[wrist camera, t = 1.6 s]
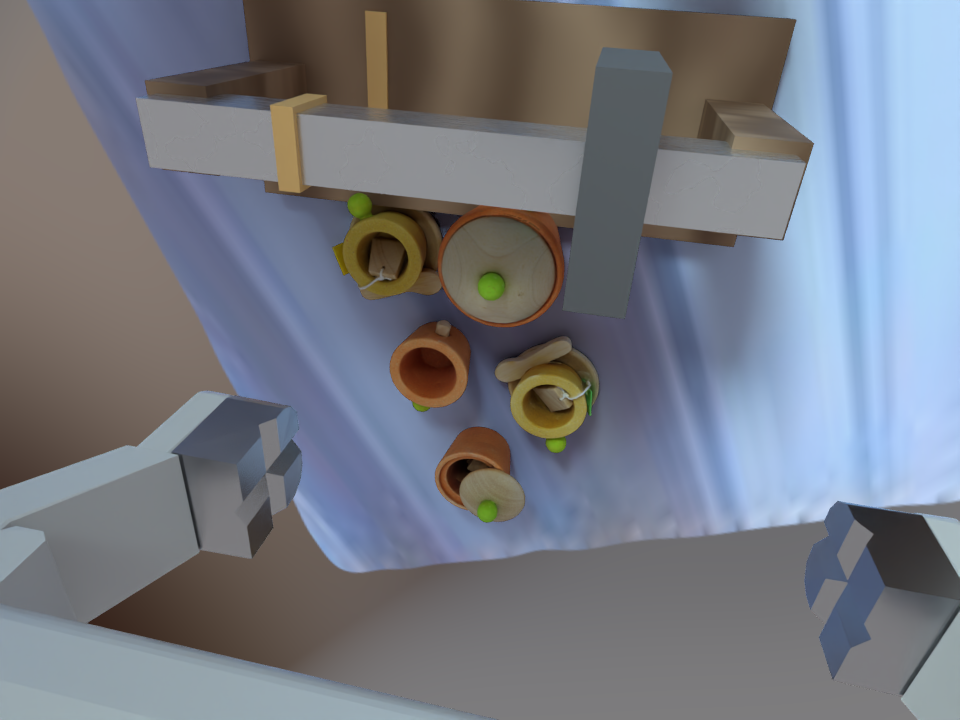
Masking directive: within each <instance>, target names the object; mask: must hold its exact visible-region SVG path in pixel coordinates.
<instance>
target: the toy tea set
mask: <svg viewBox="0 0 960 720" xmlns="http://www.w3.org/2000/svg"><path fill="white" fill-rule="evenodd" d="M347 204H348V209H349V212H350V213H351V214H352V215H353V216H354V217H353V219H352V222H351V224H350V229H349V231H348V233H347V235H346V237H345V239H344V242H343V243H341V244H338V245H336V246H334V247H332V249H333V251H334V253H335V256H336V259H337V261H338V263H339V266H340V269H341V271H342V273H343V275H344V276H345V275H346V274H348V273H350V275H351V276H352V278H353V279H354V280H355V281H356V282H357V283H358V288H359V289H360V292H361V294H362V296H363V297H364V298H365V299H369V300H375V299H381V298H385V297H389V296H393V295H398V294H401V293H404V292H416V293H419V294H423V295H433V294H435V293H437V292H438V291H439V290H440V289H441V288H442V287H443V289H444V291H445V293H446V295H447V296H448V298H449V299H450V301H451V302H452V303H453V304H454V305H455V306H456V307H457V308H458V309H459V310H460V311H461V312H462V313H464V314H465V315H466V316H468V317H469V318H471V319H473V320H475V321H477V322H480V323H482V324H485V325H489V326H494V327H514V326H519V325H523V324H526V323H529V322H531V321H533V320H535V319H537V318H538V317H539V316H541V315H542V314H543V313H545V312H546V311H547V310H548V309H549V307H550V306H551V305H552V304H553V302H554V301H555V299H556V298H557V296H558V294H559V292H560V290H561V287H562V283H563V279H564V258H563V252H562V248H561V243H560V237H559V232H558V227H557V226H556V224H555V222H554V220H553V219H552V217H551V216H550V215H549V213H546V212H537V211H529V210H520V209H511V208H502V207H494V206H485V205H479V206H478V207H476V208H474V209H473V210H471V211H469V212H468V213H466V214H465V215H463V216H462V217H460V218H459V219H458V220H457V221H456V222H455V223H454V224H453V225H452V226H451V227H450V229H449V230H448V231H447V233H446V235H445V237H444V238H443V240H442V235H441V231H440V229H439V226H438V225H437V223H436V221H435V219H434V218H433V217H432V215H431V214H430V213H429V212H428V211H422V210H413V209H405V208H396V207H388V206H379V205H372V202H371V200H370V199H369V197H368V196H367V195H365V194H363V193H357V194H354V195H352V196H351V197H350V198H349V200H348V203H347ZM437 268H438V272H436V270H437ZM470 355H471V351H470V345H469V343H468V340H467V339H466V337H465V336H464V335H463V333H462V332H461V331H459V330H458V329H457V328H456V327H454V326H452V325H450V323H449V322H448V321H446V320H441V321H439V322H430V323H427V324H424V325H422V326H421V327H419V328H418V329H417V330H416V331H415V332H413V333H412V334H411V335H410V336H409V337H408V338H407V339H406V340H405V341H403V342H402V343H401V344H400V345H399V346H398V347H397V348H396V350H395V351H394V353H393V355H392V357H391V361H390V374H391V378H392V380H393V383H394V384H395V386H396V388H397V389H398V390H399V391H400V392H401V394H403V395H404V396H405V397H406V398H407V399H409V400H411V401H412V403H413V407H414V408H415V409H416V410H417V411H421V412H424V411H427V410H428V409H430V407H433V408H436V407H444V406H447V405H450V404H452V403H453V402H455V401H456V400H458V399H459V398H460V397H461V396H462V394H463V393H464V391H465V389H466V386H467V382H468V373H469V365H470ZM495 376H496V377H497V379H498V380H500V381H502V382H508V387H509V392H510V395H511V401H510V407H511V412H512V415H513V417H514V419H515V420H516V422H517V423H518V424H519V425H520V426H521V427H522V428H523V429H524V430H525V431H527V432H529V433H530V434H533V435H535V436H538V437H541V438H546V446H547V448H548V450H550V451H551V452H553V453H559V452H561V451H563V450H564V449H565V447H566V438H565V436H567V435H569V434H571V433H573V432H574V431H576V430H577V429H578V428H579V427H580V426H581V425H582V423H583V421H584V419H585V416H586V412H588V414H589V415H590V416H591V407H592V405H593V404H594V403H595V401H596V399H597V396H598V391H599V378H598V374H597V372H596V370H595V368H594V366H593V364H592V363H591V362H590V360H589V359H588V358H587V357H586V356H584V355H583V354H582V353H580V352H579V351H577V350H575V349H574V348H572V343H571V340H570V339H569V338H568V337H565V336H561V337H558V338H555V339H553V340H551V341H549V342H547V343H546V344H541V345H537V346H534V347H532V348H530V349H528V350H526V351H524V352H523V353H522V354H520V355H519V356H518V357H517V358H508V359H505V360H503V361H501V362H500V363H499V364H498V365H497V367H496V369H495ZM435 482H436V486H437V488H438V490H439V491H440V493H441V494H442V496H443V497H444V498H445V499H446V500H447V501H449V502H450V503H451V504H453V505H455V506H457V507H459V508H461V509H465V510H469V511H470V512H471V513H472V514H474V515H475V516H477V517H479V519H480V520H481V521H483V522H486V523H487V522H492V521H493V522H501V521H507V520H510V519H512V518H514V517H516V516H517V515H518V514H519V513H520V512H521V511H522V509H523V507H524V504H525V495H524V491H523V489H522V487H521V485H520V484H519V483H518V482H517V481H516V479H514V478H513V477H512V476H510V448H509V445H508V443H507V442H506V440H505V439H504V438H503V437H502V436H501V435H500V434H499V433H497V432H496V431H494V430H492V429H489V428H485V427H471V428H468V429H466V430H464V431H462V432H461V433H460V434H459V435H458V436H457V437H456V439H455V440H454V442H453V443H452V445H451V446H450V448H449V449H448V451H447V452H446V454H445V455H444V457H443V458H442V460H441V461H440V463H439V464H438V466H437V468H436V471H435Z"/></svg>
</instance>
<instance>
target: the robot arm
mask: <svg viewBox="0 0 960 720" xmlns="http://www.w3.org/2000/svg"><path fill="white" fill-rule="evenodd" d="M298 430H299V424H298V417H297V411H296V410H294V409H293V408H292V407H291V406H287V405H282V404H277V403H271V402H266V401H261V400H256V399H251V398H246V397H241V396H232V395H229V394H224V393H218V392H213V391H202V392H198V393H197V394H195V395H194V396H193V397H192V398H191V399H190V400H189V401H188V402H187V403H185V404H184V405H183V406H182V407H181V408H180V409H179V410H178V411H177V412H175V413H174V414H173V415H172V416H171V417H170V418H169V419H167V420H166V421H165V422H164V423H163V424H162V425H161V426H160V427H159V428H157V429H156V430H155V431H154V432H153V433H152V434H151V435H150V436H149V437H147V438H146V439H145V440H144V441H143V442H142V443H141V444H140V445H138V446H137V447H133V446H128V445H127V446H124V447H121V448H118V449H116V450H113V451H110V452H107V453H104V454H101V455H99V456H96V457H93V458H90V459H87V460H84V461H82V462H78V463H76V464H73V465H70V466H68V467H64V468H62V469H59V470H56V471H53V472H50V473H47V474H44V475H41V476H39V477H36V478H33V479H30V480H27V481H24V482H22V483H19V484H16V485H13V486H10V487H7V488H4V489H2V490H0V720H497V719H493V718H489V717H485V716H480V715H476V714H472V713H467V712H463V711H459V710H455V709H451V708H446V707H442V706H437V705H433V704H428V703H425V702H421V701H416V700H412V699H408V698H403V697H399V696H395V695H391V694H386V693H382V692H378V691H373V690H369V689H364V688H361V687H356V686H352V685H348V684H343V683H339V682H335V681H330V680H326V679H321V678H318V677H313V676H309V675H305V674H301V673H296V672H292V671H288V670H283V669H279V668H275V667H271V666H266V665H262V664H258V663H253V662H249V661H245V660H240V659H236V658H232V657H228V656H223V655H219V654H215V653H210V652H206V651H202V650H198V649H193V648H189V647H185V646H180V645H176V644H172V643H168V642H163V641H159V640H155V639H150V638H146V637H142V636H138V635H133V634H129V633H124V632H120V631H116V630H112V629H107V628H103V627H99V626H94V625H90V624H86V623H87V622H89V621H91V620H92V619H94V618H95V617H97V616H99V615H100V614H102V613H103V612H105V611H107V610H108V609H110V608H111V607H113V606H115V605H116V604H118V603H119V602H121V601H123V600H124V599H126V598H127V597H129V596H131V595H132V594H134V593H135V592H137V591H139V590H140V589H142V588H143V587H145V586H146V585H148V584H150V583H151V582H153V581H155V580H156V579H158V578H159V577H161V576H163V575H164V574H166V573H167V572H169V571H171V570H172V569H174V568H175V567H177V566H179V565H180V564H182V563H183V562H185V561H186V560H188V559H190V558H191V557H193V556H195V555H196V554H198V553H199V550H204V551H210V552H216V553H222V554H227V555H233V556H239V557H244V558H249V559H252V558H253V557H254V555H255V554H256V552H257V551H258V549H259V548H260V546H261V545H262V544H263V542H264V541H265V539H266V538H267V536H268V535H269V533H270V532H271V530H272V529H273V522H272V515H273V514H275V513H277V512H279V511H281V510H283V509H285V508H287V507H288V505H289V503H290V502H291V500H292V499H293V497H294V496H295V493H296V490H297V487H298V485H299V482H300V479H301V471H302V454H301V450H300V449H299V448H298V446H297V445H296V444H295V443H294V441H293V440H292V438H293V436H294V435H295V434H296V432H297V431H298ZM824 523H825V526H826V528H827V531H828V534H829V536H828V537H826V538H824V539H822V540H821V541H819V542H817V543H815V544H814V545H813V547H812V550H811V552H810V555H809V557H808V560H807V563H806V572H805V589H806V596H807V600H808V603H809V607H810V610H811V611H812V612H813V613H814V614H815V615H816V616H817V617H818V618H819V619H820V620H821V621H822V622H823V623H824V624H825V626H824V629H823V630H822V632H821V634H820V636H819V638H820V642H821V645H822V648H823V651H824V654H825V658H826V661H827V664H828V667H829V670H830V673H831V676H832V679H833V681H837V682H841V683H845V684H850V685H854V686H859V687H862V688H867V689H871V690H875V691H879V692H884V693H888V694H892V695H896V696H901V697H902V698H901V700H902V702H903V703H904V704H905V705H906V706H907V708H908V709H909V710H910V711H911V712H912V713H913V714H914V715H915V717H916V718H917V719H918V720H960V522H959V521H958V520H956V519H955V518H947V517H940V516H934V515H927V514H920V513H914V514H912V513H906V512H900V511H894V510H888V509H882V508H876V507H871V506H865V505H859V504H853V503H847V502H841V501H837V502H836V503H835V504H834V505H833V506H832V507H831V508H830V510H829V512H828V514H827V516H826V518H825V520H824Z"/></svg>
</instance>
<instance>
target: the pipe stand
mask: <svg viewBox="0 0 960 720" xmlns="http://www.w3.org/2000/svg"><path fill="white" fill-rule="evenodd" d="M243 6H244V14H245V23H246V31H247V40H248V48H249V56H250V61H249V62H244V63H238V64H233V65H227V66H222V67H216V68H211V69H205V70H200V71H194V72H189V73H183V74H178V75H172V76H167V77H161V78H156V79H150V80H145V85H146V90H147V95H146V96H142V97H137V98H136V103H137V107H138V112H139V117H140V122H141V127H142V132H143V136H144V141H145V146H146V151H147V156H148V160H149V165H150V167H153V168H161V169H164V170H172V171H181V172H190V173H199V174H207V175H216V176H220V175H223V176H231V177H240V178H249V179H258V180H264V184H265V192H268V193H277V194H285V195H294V196H302V197H311V198H319V199H328V200H336V201H345V202H348V200H349V198H350V197H351V196H352V195H354V194H357V193H363V194H365V195H367V196H368V197H369V199H370V200H371V202H372V205H379V206H388V207H396V208H405V209H413V210H422V211H430V212H439V213H447V214H456V215H465V214H466V213H468V212H469V211H471V210H473V209H474V208H476V207H478V206H479V205H485V206H494V207H502V208H511V209H520V210H529V211H537V212H546V213H549V215H550V216H551V217H552V219H553V220H554V222H555V224H556V226H558V227H567V228H574V222H575V215H576V207H577V200H578V193H579V185H580V178H581V171H582V163H583V156H584V149H585V142H586V134H587V127H588V120H589V112H590V105H591V98H592V90H593V83H594V76H595V69H596V65H597V62H598V59H599V56H600V54H601V51H602V48H603V47H608V48H620V49H633V50H646V51H659V52H660V54H661V55H662V57H663V58H664V60H665V61H666V63H667V65H668V66H669V68H670V69H671V71H672V72H673V75H672V80H671V85H670V90H669V95H668V100H667V105H666V111H665V116H664V121H663V126H662V131H661V136H660V141H659V147H658V152H657V157H656V162H655V167H654V172H653V177H652V182H651V188H650V193H649V198H648V203H647V208H646V213H645V218H644V224H643V229H642V234H641V236H644V237H652V238H661V239H669V240H678V241H686V242H695V243H704V244H712V245H721V246H729V247H734V245H735V241H736V237H737V235H740V236H749V237H757V238H766V239H775V240H784V236H785V233H786V230H787V227H788V224H789V221H790V217H791V214H792V211H793V208H794V205H795V202H796V199H797V195H798V192H799V189H800V186H801V183H802V180H803V176H804V173H805V170H806V167H807V164H808V161H809V157H810V154H811V151H812V148H813V145H814V143H813V142H812V141H810V140H809V139H808V138H806V137H805V136H804V135H803V134H801V133H800V132H799V131H797V130H796V129H795V128H794V127H792V126H791V125H790V124H789V123H787V122H786V121H785V120H783V119H782V118H781V117H780V116H778V115H777V114H776V113H774V112H773V111H772V107H773V103H774V99H775V96H776V92H777V89H778V85H779V81H780V78H781V74H782V70H783V67H784V63H785V60H786V56H787V52H788V49H789V45H790V41H791V38H792V34H793V30H794V27H795V23H796V20H795V19H788V18H773V17H758V16H744V15H729V14H715V13H700V12H686V11H671V10H656V9H642V8H627V7H613V6H598V5H584V4H569V3H554V2H540V1H525V0H243Z"/></svg>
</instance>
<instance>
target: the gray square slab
mask: <svg viewBox="0 0 960 720" xmlns="http://www.w3.org/2000/svg"><path fill="white" fill-rule="evenodd" d="M672 75H673V72H672V71H671V69H670V68H669V66H668V65H667V63H666V61H665V60H664V58H663V57H662V55H661V54H660V52H659V51H646V50H633V49H620V48H608V47H603V48H602V51H601V54H600V56H599V59H598V62H597V65H596V69H595V76H594V83H593V90H592V98H591V105H590V112H589V120H588V127H587V134H586V142H585V149H584V156H583V163H582V171H581V178H580V185H579V193H578V200H577V207H576V215H575V222H574V229H573V236H572V244H571V251H570V258H569V266H568V273H567V280H566V288H565V295H564V302H563V309H562V311H569V312H577V313H584V314H592V315H599V316H606V317H614V318H621V319H625V316H626V311H627V306H628V301H629V295H630V290H631V285H632V280H633V275H634V270H635V265H636V259H637V254H638V249H639V244H640V239H641V234H642V229H643V224H644V218H645V213H646V208H647V203H648V198H649V193H650V188H651V182H652V177H653V172H654V167H655V162H656V157H657V152H658V147H659V141H660V136H661V131H662V126H663V121H664V116H665V111H666V105H667V100H668V95H669V90H670V85H671V80H672Z"/></svg>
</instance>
